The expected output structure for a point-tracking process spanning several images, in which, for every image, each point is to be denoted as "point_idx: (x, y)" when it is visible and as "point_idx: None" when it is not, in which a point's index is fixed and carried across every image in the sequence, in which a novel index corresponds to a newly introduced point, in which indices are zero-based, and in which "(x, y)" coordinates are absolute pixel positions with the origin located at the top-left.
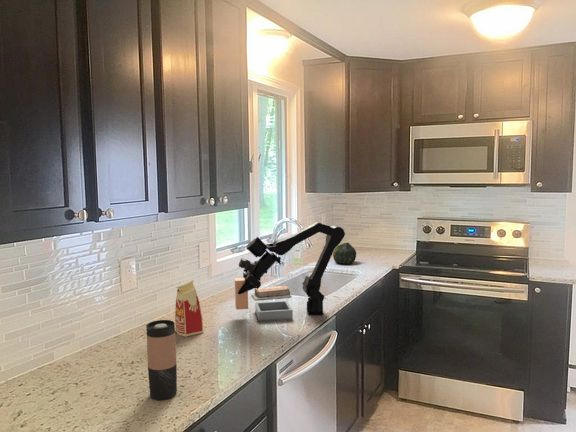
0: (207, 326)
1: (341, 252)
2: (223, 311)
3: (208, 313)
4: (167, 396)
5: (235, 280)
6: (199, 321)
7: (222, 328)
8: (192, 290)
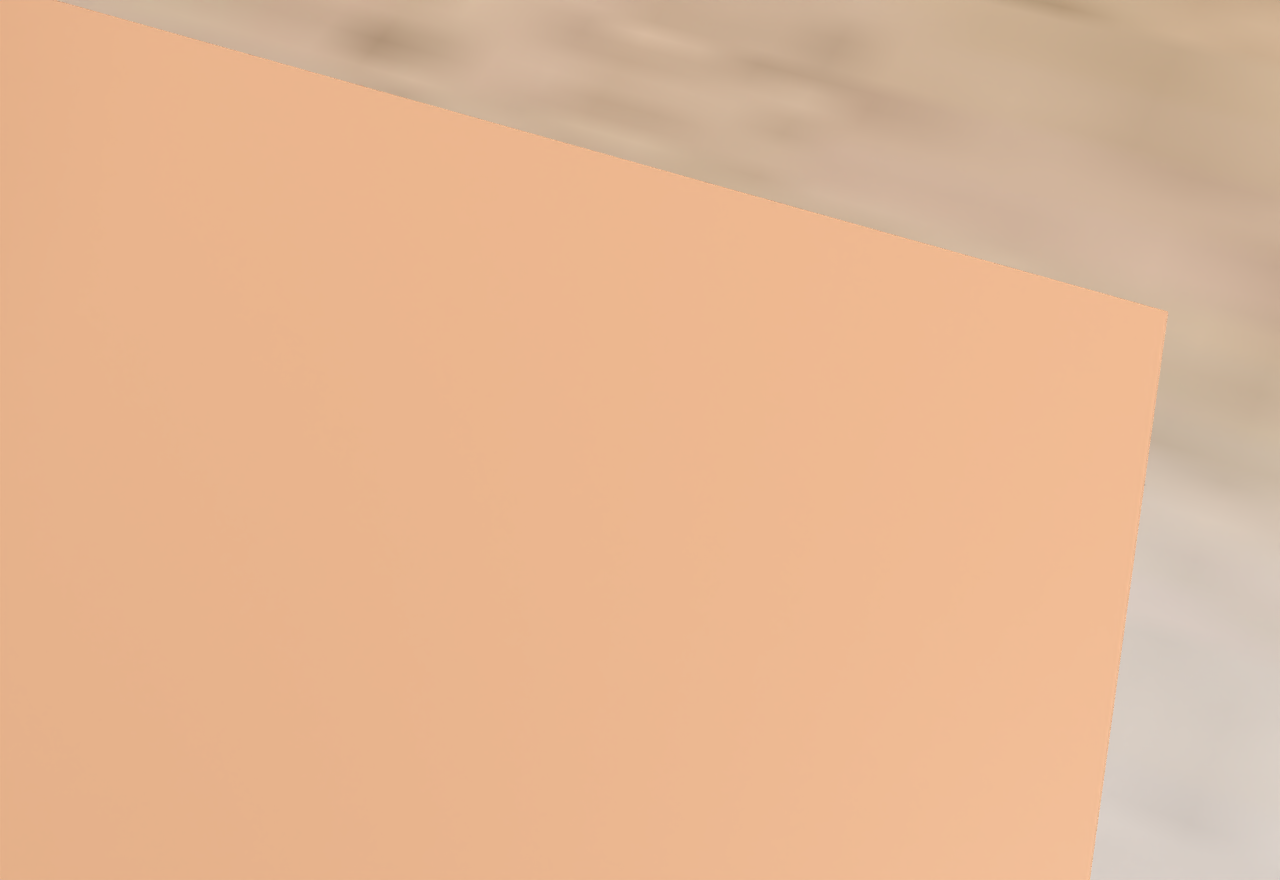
0: (400, 74)
1: None
2: (1234, 637)
3: (1192, 314)
4: None
5: (81, 41)
6: None
7: None
8: None
